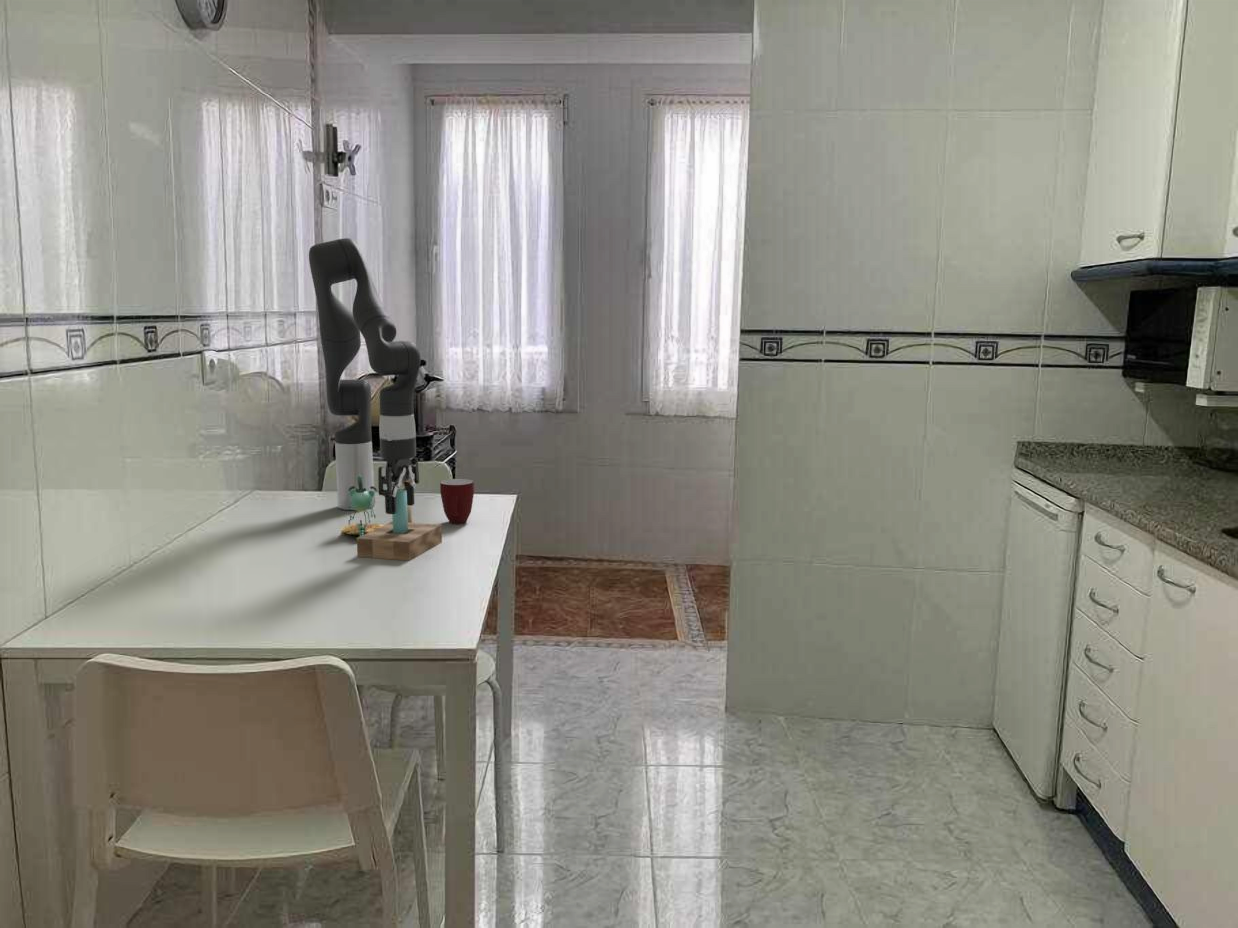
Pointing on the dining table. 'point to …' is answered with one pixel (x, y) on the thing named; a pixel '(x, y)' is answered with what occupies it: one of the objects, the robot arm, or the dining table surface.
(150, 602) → the dining table surface
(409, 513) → the short pin
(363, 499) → the teal creature figurine
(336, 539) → the dining table surface
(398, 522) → the long pin
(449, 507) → the mug
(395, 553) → the hole block
